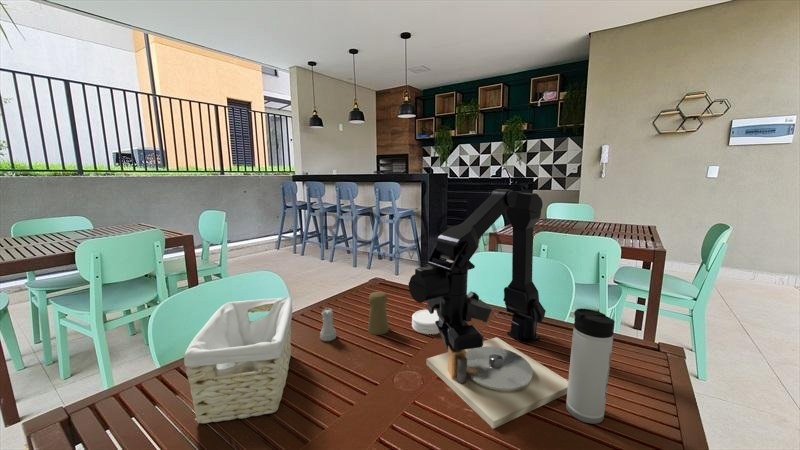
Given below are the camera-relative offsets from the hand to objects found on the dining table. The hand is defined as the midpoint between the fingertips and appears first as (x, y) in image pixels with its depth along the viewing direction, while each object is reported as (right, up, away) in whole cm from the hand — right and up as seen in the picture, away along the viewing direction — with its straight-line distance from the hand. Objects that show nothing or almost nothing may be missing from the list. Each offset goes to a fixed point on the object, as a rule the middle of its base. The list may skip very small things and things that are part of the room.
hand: (451, 355), depth 74 cm
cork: (-18, -1, +20) cm, 27 cm away
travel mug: (+23, -6, -12) cm, 27 cm away
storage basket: (-43, -5, -4) cm, 44 cm away
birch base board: (+10, -4, -2) cm, 11 cm away
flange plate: (+8, -2, -2) cm, 9 cm away
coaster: (-3, -1, +22) cm, 22 cm away
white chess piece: (-31, -1, +15) cm, 35 cm away
